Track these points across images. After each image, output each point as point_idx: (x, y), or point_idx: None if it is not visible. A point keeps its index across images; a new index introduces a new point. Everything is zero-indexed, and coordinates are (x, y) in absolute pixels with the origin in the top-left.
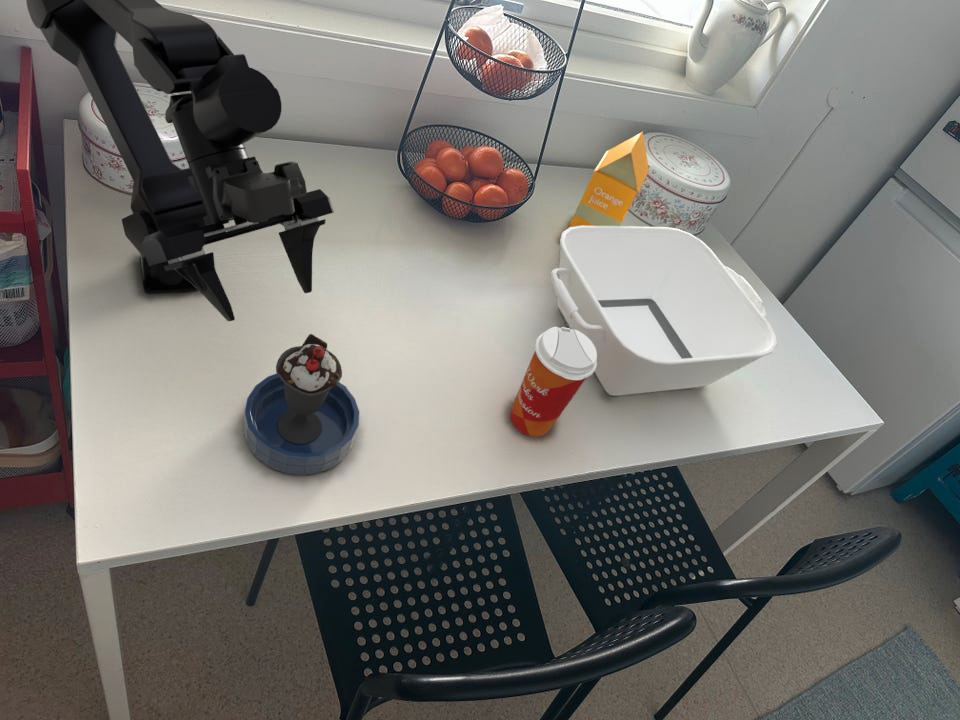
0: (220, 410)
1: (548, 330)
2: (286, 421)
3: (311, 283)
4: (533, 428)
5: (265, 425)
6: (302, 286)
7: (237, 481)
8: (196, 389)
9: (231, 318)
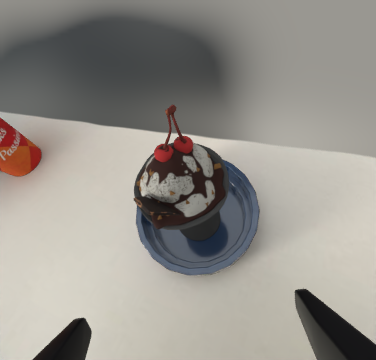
0: (267, 277)
1: None
2: (209, 225)
3: (58, 334)
4: (31, 142)
5: (229, 232)
6: (82, 350)
7: (273, 188)
8: (287, 324)
9: (307, 290)
